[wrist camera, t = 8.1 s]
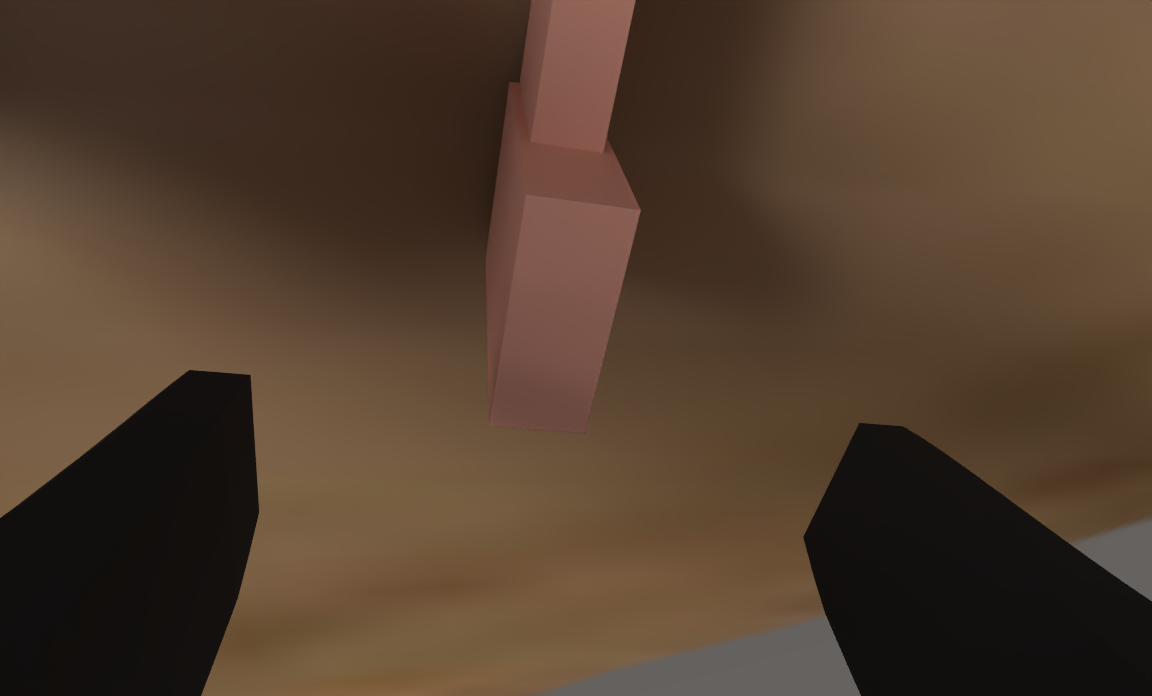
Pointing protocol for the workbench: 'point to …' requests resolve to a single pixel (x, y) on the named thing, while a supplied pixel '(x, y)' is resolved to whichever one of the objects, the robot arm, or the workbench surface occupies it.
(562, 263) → the pink stepped stick
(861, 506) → the robot arm
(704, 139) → the workbench surface
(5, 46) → the workbench surface
